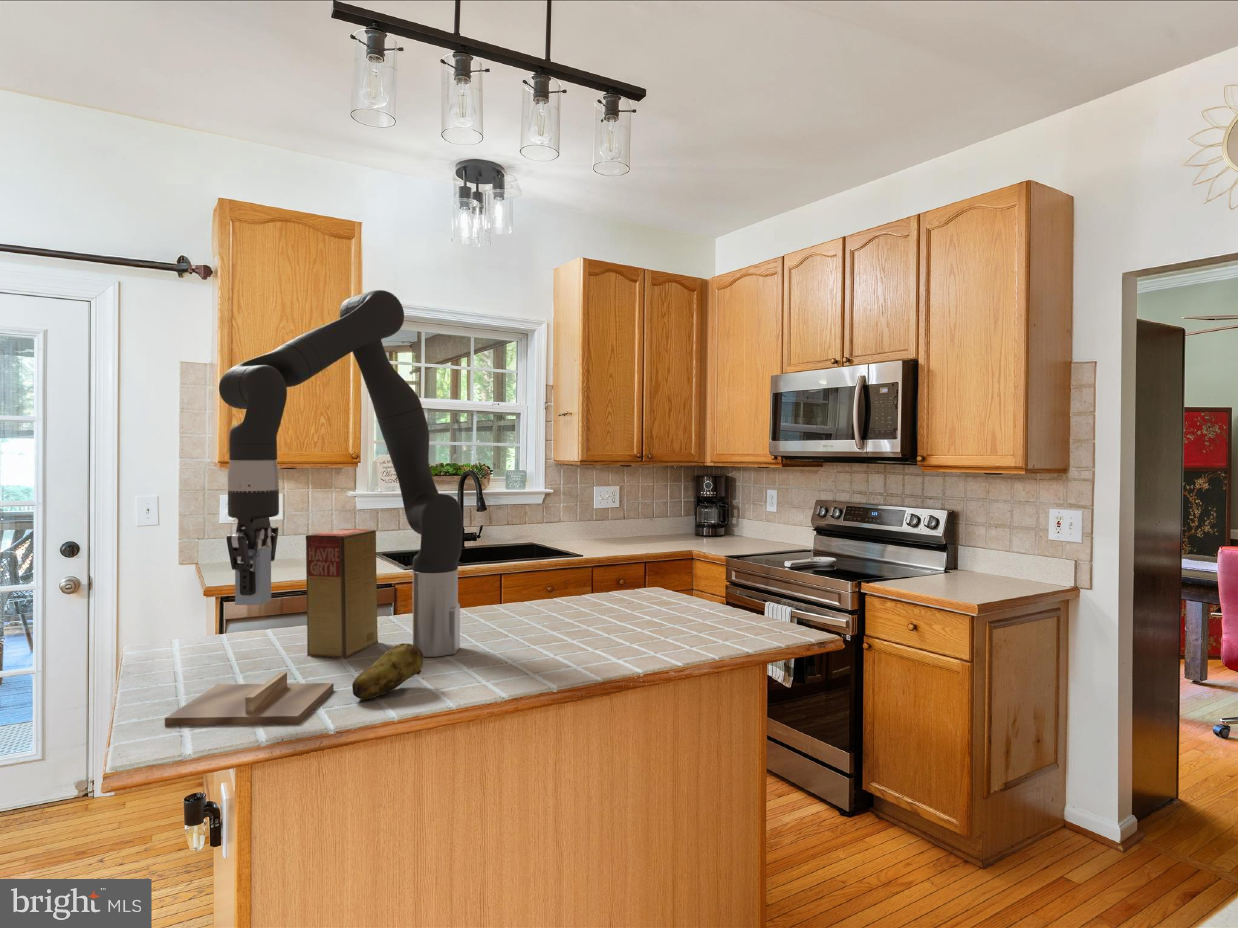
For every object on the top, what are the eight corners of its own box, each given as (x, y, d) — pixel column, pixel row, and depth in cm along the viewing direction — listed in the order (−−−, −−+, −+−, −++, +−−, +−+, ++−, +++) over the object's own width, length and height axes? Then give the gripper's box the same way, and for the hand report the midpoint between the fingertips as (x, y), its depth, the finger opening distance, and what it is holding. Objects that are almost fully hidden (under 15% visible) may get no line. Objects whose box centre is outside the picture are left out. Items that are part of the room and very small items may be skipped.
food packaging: (341, 639, 163) (341, 527, 162) (380, 641, 161) (379, 528, 160) (304, 655, 150) (303, 534, 149) (345, 658, 148) (345, 535, 147)
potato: (343, 693, 127) (343, 647, 127) (416, 680, 134) (416, 637, 134) (356, 707, 120) (356, 658, 120) (432, 692, 127) (431, 647, 127)
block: (271, 599, 122) (271, 545, 122) (260, 604, 118) (260, 548, 118) (246, 599, 122) (246, 545, 121) (235, 604, 118) (235, 548, 117)
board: (333, 689, 128) (333, 668, 128) (297, 723, 112) (297, 699, 112) (217, 691, 128) (217, 670, 127) (164, 725, 112) (164, 701, 111)
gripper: (257, 490, 112) (258, 600, 113) (294, 485, 127) (294, 584, 127) (207, 490, 112) (208, 601, 112) (250, 485, 126) (250, 584, 127)
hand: (254, 591), depth 120 cm, fingers closed on block, 4 cm apart
